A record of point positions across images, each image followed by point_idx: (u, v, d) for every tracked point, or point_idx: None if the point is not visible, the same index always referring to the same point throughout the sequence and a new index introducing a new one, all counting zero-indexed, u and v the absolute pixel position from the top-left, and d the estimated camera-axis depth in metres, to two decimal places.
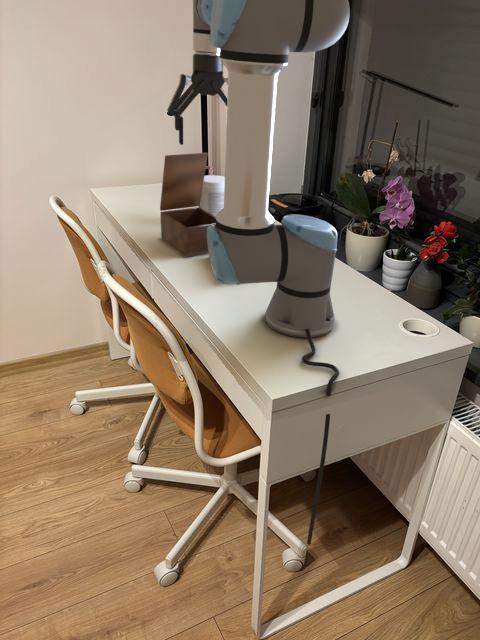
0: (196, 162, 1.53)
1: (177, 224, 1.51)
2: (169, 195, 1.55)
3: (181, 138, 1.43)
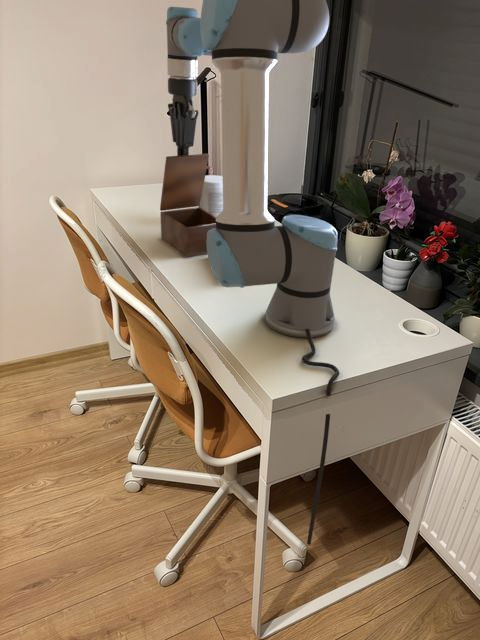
0: (197, 163, 1.52)
1: (177, 224, 1.51)
2: (170, 196, 1.55)
3: None
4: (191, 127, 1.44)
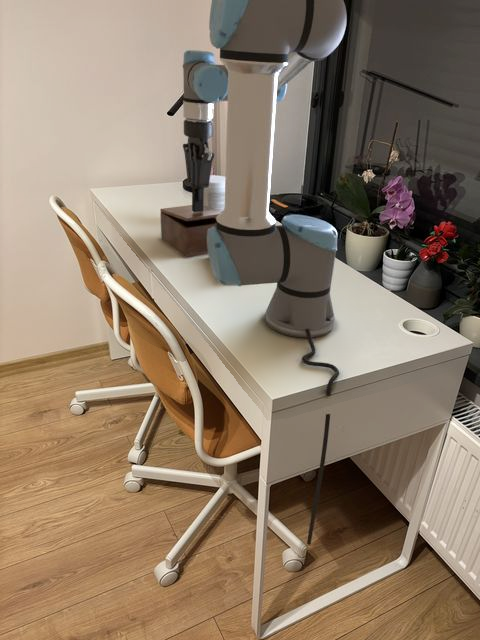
0: None
1: (177, 224, 1.51)
2: None
3: (192, 205, 1.51)
4: (207, 169, 1.43)
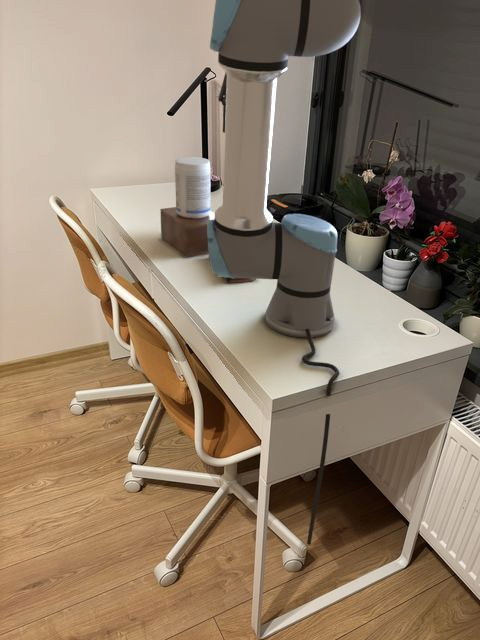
0: None
1: (177, 224, 1.51)
2: None
3: (223, 126, 1.47)
4: None
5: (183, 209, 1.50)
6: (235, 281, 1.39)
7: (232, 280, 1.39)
